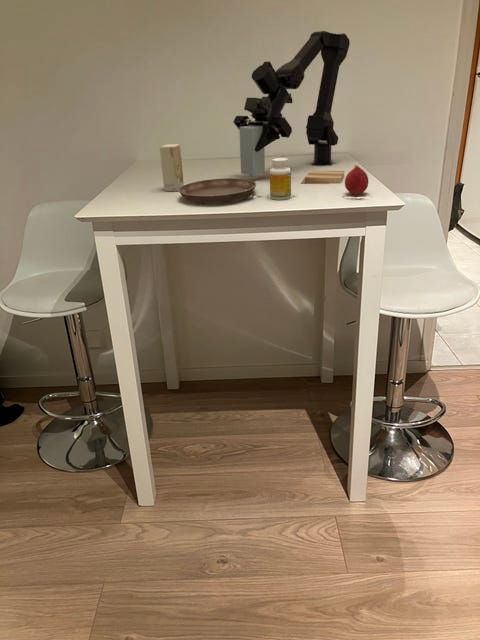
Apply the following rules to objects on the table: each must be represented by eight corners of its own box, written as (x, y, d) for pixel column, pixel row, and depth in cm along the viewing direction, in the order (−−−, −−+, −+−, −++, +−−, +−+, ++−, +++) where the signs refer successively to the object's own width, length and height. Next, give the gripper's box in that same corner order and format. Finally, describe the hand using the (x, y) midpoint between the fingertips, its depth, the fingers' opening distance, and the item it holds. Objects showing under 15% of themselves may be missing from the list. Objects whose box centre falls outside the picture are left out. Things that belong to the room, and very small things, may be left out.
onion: (367, 194, 134) (369, 162, 131) (367, 199, 129) (369, 166, 126) (344, 194, 136) (345, 162, 132) (343, 199, 131) (345, 166, 127)
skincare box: (178, 191, 148) (173, 146, 143) (163, 191, 149) (158, 147, 144) (184, 186, 154) (180, 143, 149) (170, 186, 155) (166, 143, 149)
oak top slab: (310, 175, 156) (310, 170, 155) (344, 176, 153) (344, 170, 153) (304, 182, 147) (304, 177, 147) (340, 183, 145) (340, 177, 144)
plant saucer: (173, 209, 131) (172, 195, 130) (185, 191, 150) (184, 179, 148) (255, 206, 130) (255, 192, 129) (257, 188, 149) (256, 176, 147)
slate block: (252, 170, 158) (251, 125, 152) (264, 172, 155) (264, 126, 149) (241, 173, 155) (239, 127, 149) (253, 175, 152) (251, 128, 146)
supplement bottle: (289, 200, 133) (289, 160, 128) (268, 200, 134) (267, 161, 129) (292, 195, 137) (292, 157, 133) (271, 195, 138) (271, 157, 134)
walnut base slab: (306, 180, 158) (306, 175, 157) (346, 180, 155) (347, 175, 154) (300, 189, 147) (300, 183, 147) (343, 189, 144) (343, 184, 144)
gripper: (235, 86, 153) (211, 130, 151) (285, 85, 141) (258, 133, 139) (255, 112, 161) (231, 154, 159) (303, 113, 149) (278, 159, 147)
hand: (249, 150), depth 151 cm, fingers closed on slate block, 5 cm apart
